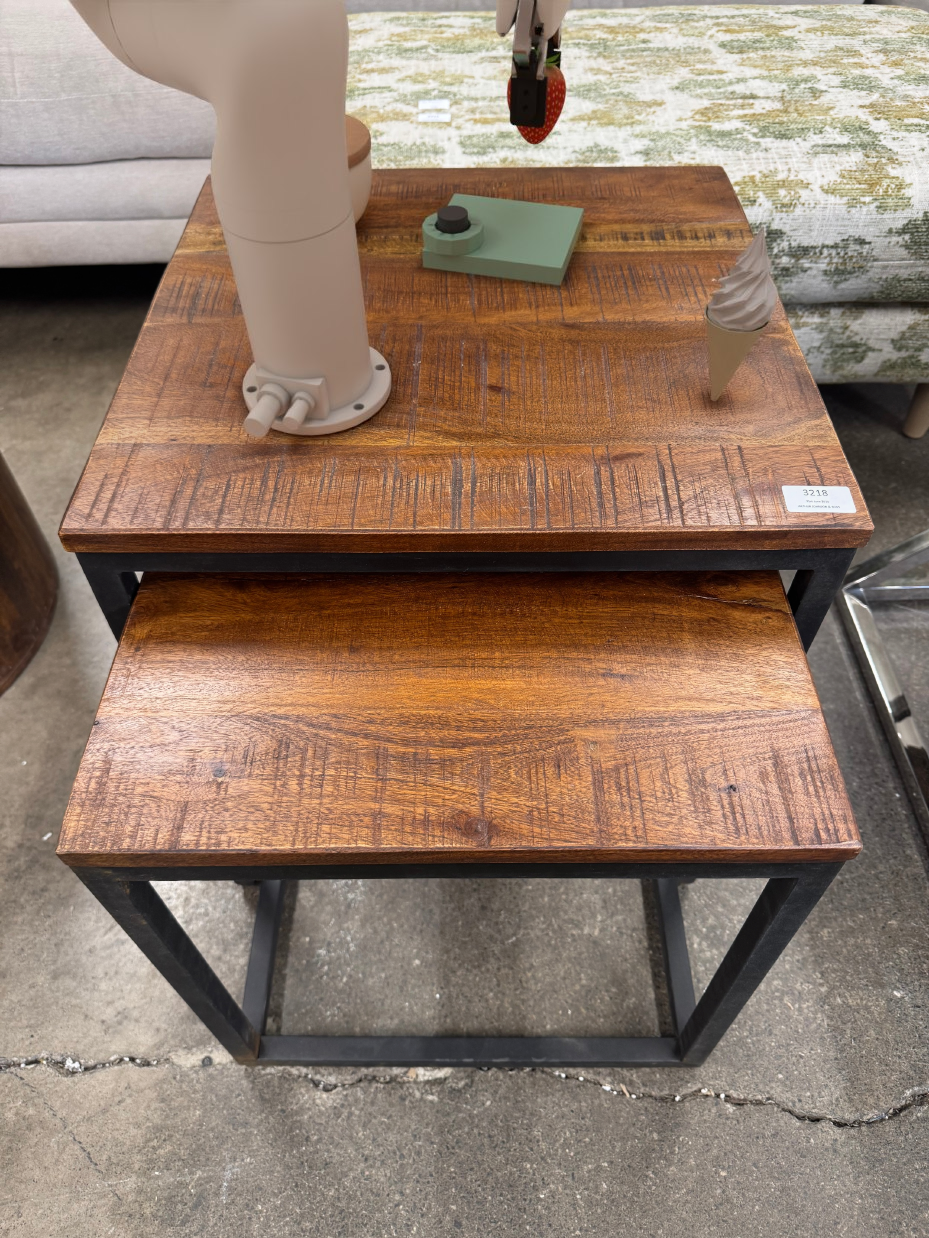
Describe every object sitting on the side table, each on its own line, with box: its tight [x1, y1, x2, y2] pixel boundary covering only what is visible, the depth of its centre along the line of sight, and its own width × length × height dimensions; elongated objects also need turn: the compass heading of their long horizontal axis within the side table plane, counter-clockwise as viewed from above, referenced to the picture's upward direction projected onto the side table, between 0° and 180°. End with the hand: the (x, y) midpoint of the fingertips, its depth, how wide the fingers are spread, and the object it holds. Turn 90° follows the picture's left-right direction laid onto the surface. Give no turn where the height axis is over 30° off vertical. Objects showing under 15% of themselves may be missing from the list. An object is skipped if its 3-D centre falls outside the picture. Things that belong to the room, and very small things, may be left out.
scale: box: [421, 193, 585, 286], centre depth 86 cm, size 12×14×4 cm
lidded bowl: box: [345, 114, 373, 225], centre depth 85 cm, size 13×13×11 cm
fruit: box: [506, 45, 567, 145], centre depth 77 cm, size 5×5×8 cm
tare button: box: [436, 205, 468, 234], centre depth 83 cm, size 3×3×2 cm
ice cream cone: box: [703, 225, 779, 402], centre depth 65 cm, size 5×5×15 cm
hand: (534, 109), depth 78 cm, fingers closed on fruit, 5 cm apart
